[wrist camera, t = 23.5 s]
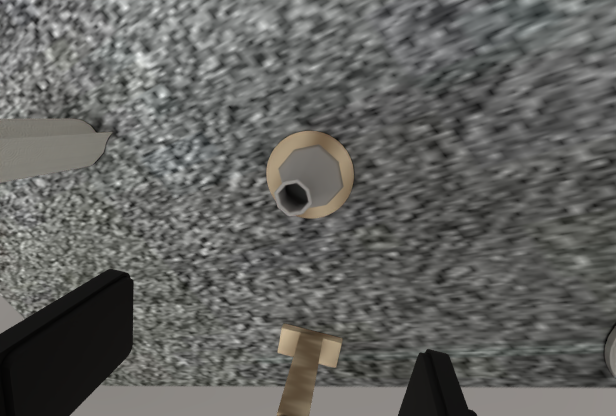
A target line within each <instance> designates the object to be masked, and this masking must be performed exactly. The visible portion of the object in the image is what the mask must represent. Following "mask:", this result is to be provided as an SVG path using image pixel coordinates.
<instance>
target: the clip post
mask: <svg viewBox="0 0 616 416" xmlns="http://www.w3.org/2000/svg"><path fill="white" fill-rule="evenodd" d="M341 345H342V338H339V337H335V336H331V335H327V334H323V333H320V332H316V331H312V330H308V329H304V328H300V327H296V326H292V325H288V324H283V327H282V331H281V336H280V342H279V347H278V353H281V354H285V355H289V356H292V357H293V360H292V364H291V367H290V371H289V374H288V378H287V381H286V385H285V388H284V392H283V395H282V399H281V402H280V406H279V409H278V412H277V416H309V413H310V408H311V402H312V396H313V390H314V385H315V380H316V374H317V369H318V364H322V365H326V366H330V367H333V368H336V365H337V361H338V357H339V353H340V349H341Z"/></svg>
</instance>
